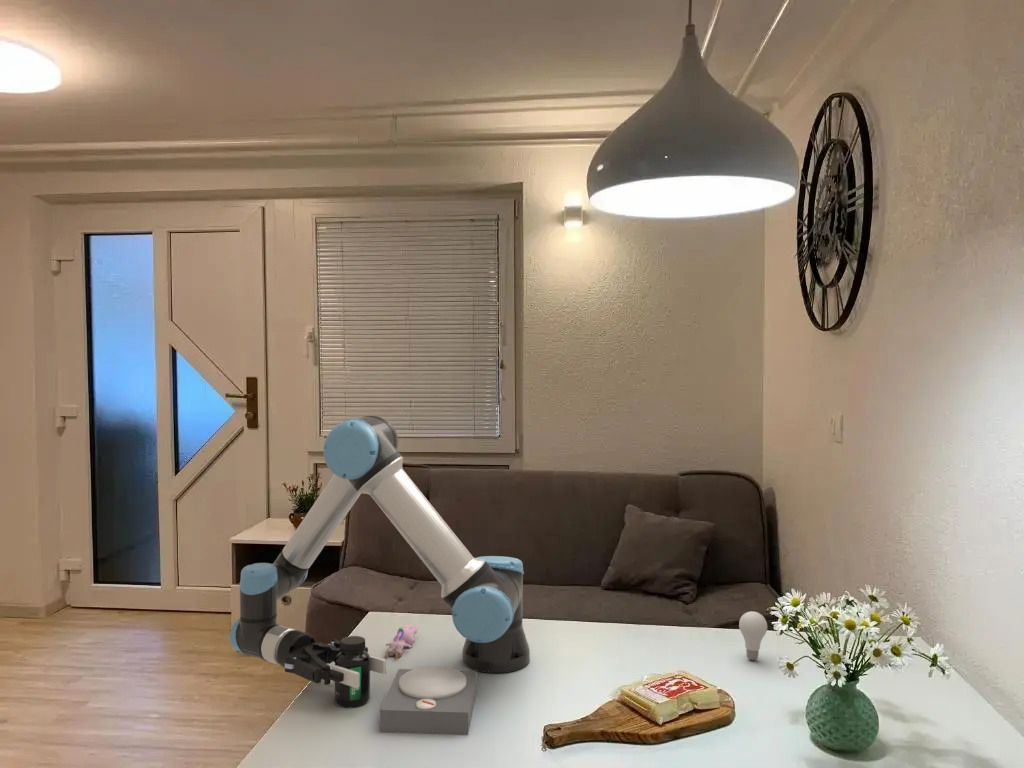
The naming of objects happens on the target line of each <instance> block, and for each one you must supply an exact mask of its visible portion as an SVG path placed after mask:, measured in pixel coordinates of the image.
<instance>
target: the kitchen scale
mask: <svg viewBox="0 0 1024 768" xmlns="http://www.w3.org/2000/svg"><path fill="white" fill-rule="evenodd" d="M477 676H478V671H477V670H458V669H455V668H453V667H448V666H441V665H440V666H439V665H438V666H437V665H436V666H433V665H432V666H429V665H428V666H423V667H417V668H413V669H412V668H411V669H409V668H398V669H397V672H396V673H395V676H394V678H393V680H392V683H391V685H390V687H389V689H388V691H387V693H386V695H385V698H384V700H383V702H382V703H381V707H380V709H379V733H381V732H382V733H408V734H409V733H412V734H413V733H414V734H415V733H416V734H439V735H443V734H444V735H469V733H470V726H471V721H472V716H473V712H474V711H473V710H474V705H475V701H476V696H477V689H478V686H477V685H478V683H477V682H478V677H477Z"/></svg>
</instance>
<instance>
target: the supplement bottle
mask: <svg viewBox="0 0 1024 768" xmlns="http://www.w3.org/2000/svg"><path fill="white" fill-rule="evenodd" d="M339 641H340V653H339V654H338V655H337V656H336V658H335V662H334V665H337V666H339V667H343V668H346V669H349V670H352V671H356V672H359V673H360V677H359V687H358V688H354V687H351V686H348V685H345V684H342V683H339V682H336V681H334V702H335V703H336V705H337V706H339V705H340V706H339V707H341V706H343V707H342V708H347V707H352V708H358V707H361V706H364V705H366V704H367V703H368V702H369V701H370V699H371V671H370V655H371V654H369V652H368V653H367V652H366V651H364V650H365V649H366V639H365V637H363V636H359V635H358V636H357V635H351V636H346V637H343V638H341V639H340V640H339Z"/></svg>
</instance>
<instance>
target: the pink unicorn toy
mask: <svg viewBox="0 0 1024 768" xmlns="http://www.w3.org/2000/svg"><path fill="white" fill-rule="evenodd" d="M419 628H420V625H418V624H415V625H412V624H410V623H408V624H403V625H402V626H400V627H399V628H398V629H397V633H396V635H395V636H394V638H393V642H386V643H385V646H387V647H388V648H387V650H386V652H385V654H384V658H385V659H388V658H389V657H393V656H394V660H395V659H396V660H398V659H399V658H401V657H402V655H403V653H404V649H405V648H409V649H411V648H412V645H413V644H414V643H415V641H416V639H415V635H416V634H417V632H418V630H419Z"/></svg>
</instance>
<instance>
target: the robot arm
mask: <svg viewBox="0 0 1024 768" xmlns="http://www.w3.org/2000/svg"><path fill="white" fill-rule="evenodd" d="M398 447H399V438H398V433H397V431H396V429H395V427H394V426H393V425H392V423H390V421H388V420H387V419H386V418H384V417H381V416H377V415H366V416H362V417H357V418H350V419H346V420H344V421H342V422H341V423H339V424H336V426H334V427H333V428H332V429H331V430H330V431H329V432H328V434H327V435H326V438H325V440H324V444H323V459H324V462H325V464H326V466H327V468H328V469H329V471H331V473H333V476H332V477H331V478H330V480H329V481H328V482H327V484H326V485H325V487H324V488H323V490H322V492H320V495H319V496H318V497H317V498H316V500H315V502H314V503H313V505H312V506H311V508H310V509H309V511H308V512H307V513H306V515H305V516H304V518H303V519H302V521H301V522H300V524H299V525H298V526H297V528H296V529H295V531H294V532H293V534H292V536H291V537H290V538H289V539H288V541H287V543H286V544H285V545H284V546H283V549H282V551H281V552H280V553H279V554H278V556H277V558H276V559H275V560H274V562H273V563H269V562H256V563H252V564H247V565H245V566H244V567H243V568H242V569H241V570H240V571H241V572H240V578H239V579H240V581H239V585H238V586H239V605H240V606H239V611H240V612H239V614H240V615H239V617H240V618H238V619H237V620H236V621H235V622H234V623H233V625H232V626H231V630H230V632H229V635H228V637H229V638H228V640H229V642H230V645H231V647H232V648H233V649H234V650H236V651H238V652H240V653H242V655H244V656H248V657H249V656H250V657H254V658H257V659H260V660H263V661H266V662H269V663H272V664H275V665H278V666H279V667H280V666H281V667H283V668H284V672H285V673H290V674H294V675H296V676H298V677H301V678H302V679H304V680H305V679H306V680H308V681H310V682H312V683H315V684H320V683H321V682H322V680H323V681H324V682H323V684H324V685H326V686H327V685H330V684H331V681H334V682H335V681H336V682H339V683H342V684H345V685H348V686H351V687H354V688H358V687H359V677H360V673H359V672H356V671H352V670H349V669H346V668H343V667H339V666H337V665H335V664H333V665H331V666H330V664H331V663H333V662H334V663H335V658H336V656H337V655H338V654H339V653H340V641H341V640H338V639H336V638H332V639H330V643H328V644H325V643H323V642H318V641H315V639H314V637H313V636H312V635H311V634H310V633H308V632H305V631H301V630H298V629H294V628H291V627H287V626H284V625H279V624H278V623H277V618H278V617H277V616H278V601H279V600H280V599H282V598H283V597H285V596H286V595H287V594H289V593H291V592H292V591H294V590H295V589H297V588H299V587H300V586H301V585H302V584H303V583H304V582H305V580H306V579H307V578H308V572H309V570H310V567H311V566H312V565H313V563H314V562H315V560H316V559H317V558H318V556H319V555H320V554H321V552H322V551H323V549H324V547H325V546H326V545H327V543H328V542H329V540H330V539H331V537H332V536H333V535H334V534H335V531H336V530H337V529H338V527H339V526H340V525H341V523H342V522H343V521H344V519H345V517H346V516H347V515H348V513H349V511H350V510H351V508H352V507H354V505H355V503H356V502H357V501H358V499H359V497H360V496H361V494H363V495H365V494H367V495H369V496H370V497H371V498H372V499H373V501H374V502H375V503H376V504H377V506H378V507H379V509H381V511H382V512H383V513H384V514H385V516H386V517H387V519H389V521H390V523H391V524H392V525H393V526H394V527H395V529H396V530H397V531H398V532H399V533H400V535H401V536H402V537H403V539H404V540H405V541H406V543H407V544H408V545H409V546H410V547H411V548H412V550H413V551H414V552H415V554H416V556H418V558H419V559H420V560H421V561H422V563H423V564H424V565H425V566H426V567H427V569H428V570H429V571H430V573H431V574H432V575H433V576H434V578H435V579H436V580H437V582H438V583H439V584H440V585H441V590H440V591H441V593H440V597H441V599H442V600H443V601H444V603H445V604H446V606H448V607H449V609H450V611H451V616H452V622H453V625H454V627H455V630H456V631H457V632H458V633H459V635H461V636H462V637H463V638H465V640H464V644H463V647H462V652H461V654H462V657H461V659H462V663H463V664H464V665H465V666H466V667H467V668H469V669H472V670H473V671H477V672H483V673H491V674H504V673H505V674H506V673H510V672H511V673H512V672H514V671H515V672H516V671H518V670H519V671H520V670H521V669H524V668H525V667H527V665H528V664H529V663H530V657H531V656H530V655H531V654H530V653H531V650H530V647H529V643H528V639H527V637H526V633H525V630H524V627H523V611H524V610H523V608H524V607H523V599H524V597H523V596H524V592H523V591H524V586H523V585H524V583H523V582H524V575H525V572H524V566H523V565H524V564H523V561H522V560H521V559H519V558H516V557H511V556H504V555H503V556H502V555H501V556H499V555H498V556H497V555H487V556H485V555H483V556H478V557H474V556H473V555H472V553H470V551H469V549H468V548H467V547H466V546H465V545H464V544H463V542H462V540H460V539H459V537H458V536H457V535H456V534H455V533H454V531H453V529H451V527H450V526H449V525H448V523H447V522H446V521H445V520H444V519H443V517H442V516H441V515H440V514H439V512H438V511H437V510H436V508H434V506H433V505H432V504H431V503H430V501H429V500H428V499H427V497H426V496H425V495H424V494H423V492H422V491H421V490H420V489H419V487H418V486H417V485H416V484H415V482H414V481H413V480H412V479H411V478H410V476H409V475H408V474H407V472H406V471H405V470H404V469H403V462H404V457H403V456H402V454H401V453H400V452H399V450H398ZM368 649H369V648H368V647H366V649H365V650H364V651H366V652H367V653H368V654H369V650H368ZM369 655H370V672H371V671H372V672H374V673H377V674H380V675H385V674H387V659H386V658H382V657H378V656H375V655H372V654H369Z"/></svg>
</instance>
